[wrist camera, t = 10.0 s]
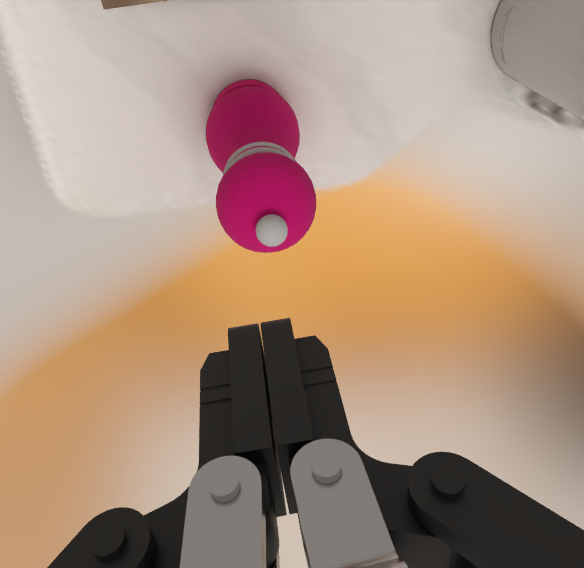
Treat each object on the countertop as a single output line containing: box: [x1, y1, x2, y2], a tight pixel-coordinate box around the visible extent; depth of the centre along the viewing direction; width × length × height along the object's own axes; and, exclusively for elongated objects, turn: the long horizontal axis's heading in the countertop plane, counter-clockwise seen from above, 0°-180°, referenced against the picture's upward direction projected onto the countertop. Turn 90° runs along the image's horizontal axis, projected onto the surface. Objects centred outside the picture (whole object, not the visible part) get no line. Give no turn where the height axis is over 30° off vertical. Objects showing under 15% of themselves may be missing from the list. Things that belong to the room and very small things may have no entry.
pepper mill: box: [206, 80, 316, 253], centre depth 37 cm, size 7×7×20 cm
